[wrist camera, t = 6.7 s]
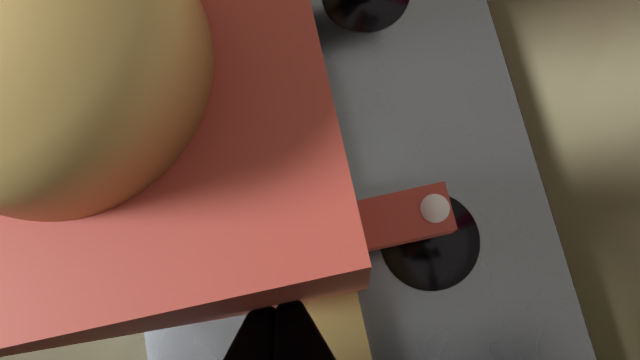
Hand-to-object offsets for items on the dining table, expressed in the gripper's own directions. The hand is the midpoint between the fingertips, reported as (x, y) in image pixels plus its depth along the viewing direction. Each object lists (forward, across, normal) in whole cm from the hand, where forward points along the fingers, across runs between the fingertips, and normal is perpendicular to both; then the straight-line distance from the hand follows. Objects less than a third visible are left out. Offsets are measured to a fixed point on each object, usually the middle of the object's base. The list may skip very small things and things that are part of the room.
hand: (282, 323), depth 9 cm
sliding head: (+6, -1, +4) cm, 7 cm away
